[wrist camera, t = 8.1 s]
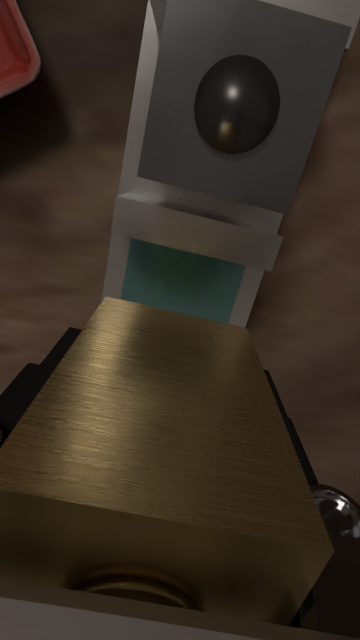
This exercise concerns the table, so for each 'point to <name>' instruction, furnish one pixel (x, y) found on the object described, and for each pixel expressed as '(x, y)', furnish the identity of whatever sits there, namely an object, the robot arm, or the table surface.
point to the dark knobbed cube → (238, 98)
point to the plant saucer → (16, 50)
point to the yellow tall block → (161, 473)
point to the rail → (192, 214)
